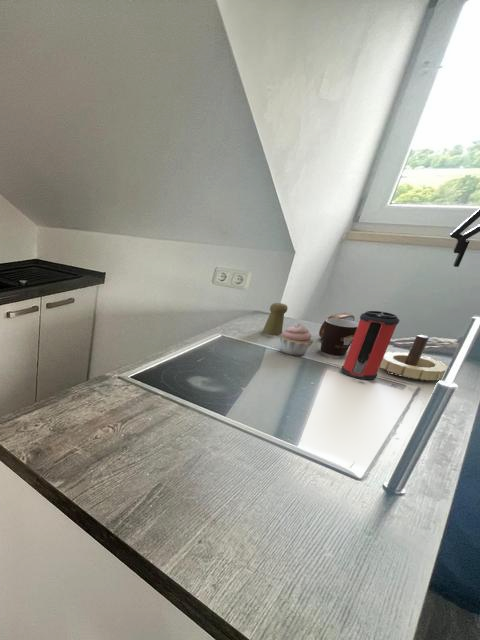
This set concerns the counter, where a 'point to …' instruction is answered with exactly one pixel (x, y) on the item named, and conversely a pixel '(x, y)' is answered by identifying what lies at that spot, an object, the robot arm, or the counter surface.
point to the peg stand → (416, 352)
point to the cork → (275, 319)
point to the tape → (424, 371)
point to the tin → (337, 316)
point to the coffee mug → (337, 336)
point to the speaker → (369, 344)
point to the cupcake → (295, 340)
